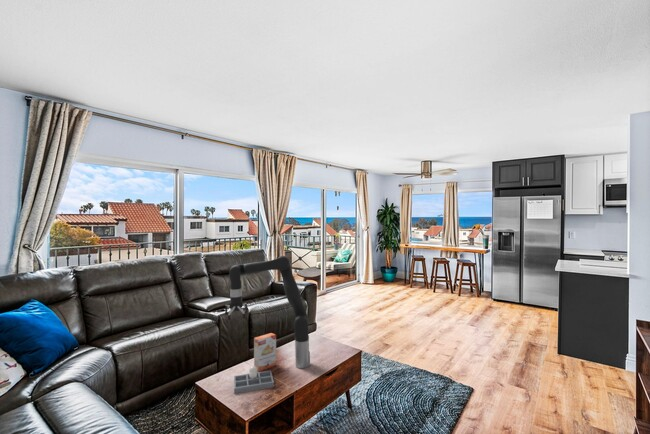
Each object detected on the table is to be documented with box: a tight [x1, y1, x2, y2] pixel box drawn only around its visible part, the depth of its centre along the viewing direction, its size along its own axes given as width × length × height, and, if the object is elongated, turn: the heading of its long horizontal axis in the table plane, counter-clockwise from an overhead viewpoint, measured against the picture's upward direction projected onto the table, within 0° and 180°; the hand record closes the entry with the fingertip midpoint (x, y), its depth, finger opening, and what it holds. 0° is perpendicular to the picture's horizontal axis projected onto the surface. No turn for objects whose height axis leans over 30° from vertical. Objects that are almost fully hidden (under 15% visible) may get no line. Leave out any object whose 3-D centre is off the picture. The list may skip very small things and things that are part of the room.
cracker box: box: [253, 332, 277, 373], centre depth 212 cm, size 14×6×21 cm, turn 134°
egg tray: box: [233, 370, 275, 394], centre depth 191 cm, size 22×15×3 cm
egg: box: [248, 365, 258, 379], centre depth 194 cm, size 5×5×8 cm
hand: (236, 319), depth 211 cm, fingers open, 8 cm apart
